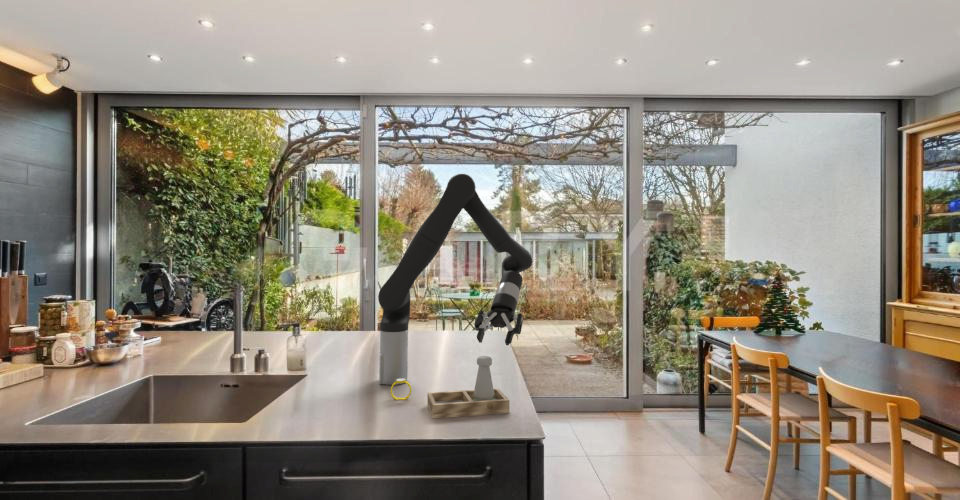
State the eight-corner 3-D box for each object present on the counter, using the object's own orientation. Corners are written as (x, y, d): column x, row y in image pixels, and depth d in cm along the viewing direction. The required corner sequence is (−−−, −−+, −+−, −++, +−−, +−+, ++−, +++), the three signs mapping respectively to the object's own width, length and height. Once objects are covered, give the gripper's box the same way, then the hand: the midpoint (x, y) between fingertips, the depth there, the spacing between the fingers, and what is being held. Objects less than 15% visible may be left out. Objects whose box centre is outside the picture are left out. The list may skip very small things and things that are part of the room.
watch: (390, 402, 137) (389, 381, 137) (391, 399, 140) (390, 379, 139) (411, 400, 138) (410, 379, 137) (411, 397, 140) (410, 377, 140)
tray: (433, 418, 123) (433, 405, 123) (427, 404, 134) (427, 392, 134) (509, 413, 128) (509, 400, 128) (498, 400, 139) (498, 388, 139)
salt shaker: (492, 406, 129) (492, 359, 129) (471, 405, 131) (472, 358, 131) (495, 400, 135) (496, 354, 135) (476, 398, 136) (476, 353, 136)
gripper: (482, 291, 149) (467, 332, 138) (525, 293, 144) (513, 337, 133) (487, 305, 154) (473, 347, 143) (529, 308, 149) (518, 352, 138)
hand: (493, 342), depth 138 cm, fingers open, 8 cm apart
